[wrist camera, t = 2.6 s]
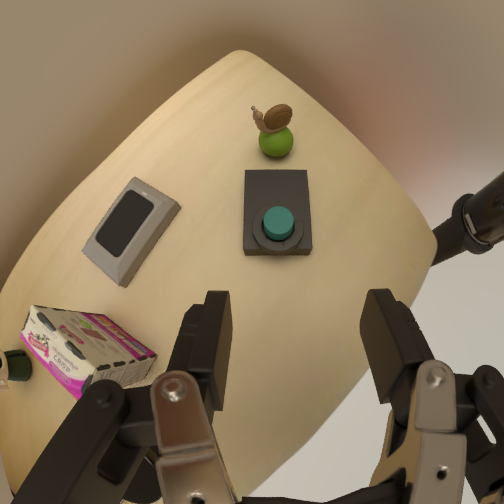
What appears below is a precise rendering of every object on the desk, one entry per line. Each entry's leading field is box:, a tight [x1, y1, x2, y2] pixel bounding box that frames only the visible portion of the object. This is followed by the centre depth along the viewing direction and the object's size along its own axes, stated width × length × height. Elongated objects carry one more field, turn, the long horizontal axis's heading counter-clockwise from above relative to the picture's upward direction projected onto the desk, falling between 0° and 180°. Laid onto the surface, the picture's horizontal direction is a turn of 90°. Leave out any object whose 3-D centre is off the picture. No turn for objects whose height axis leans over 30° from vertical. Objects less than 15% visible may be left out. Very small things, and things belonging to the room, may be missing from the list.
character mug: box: [0, 349, 31, 391], centre depth 30 cm, size 11×7×13 cm, turn 56°
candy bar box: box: [20, 305, 157, 400], centre depth 29 cm, size 11×5×16 cm, turn 61°
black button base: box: [243, 170, 312, 255], centre depth 39 cm, size 13×9×5 cm
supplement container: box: [122, 445, 162, 504], centre depth 27 cm, size 10×10×12 cm
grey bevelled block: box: [81, 177, 181, 288], centre depth 40 cm, size 10×4×15 cm
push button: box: [264, 206, 294, 240], centre depth 35 cm, size 4×4×2 cm
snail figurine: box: [251, 104, 293, 157], centre depth 39 cm, size 5×6×12 cm
